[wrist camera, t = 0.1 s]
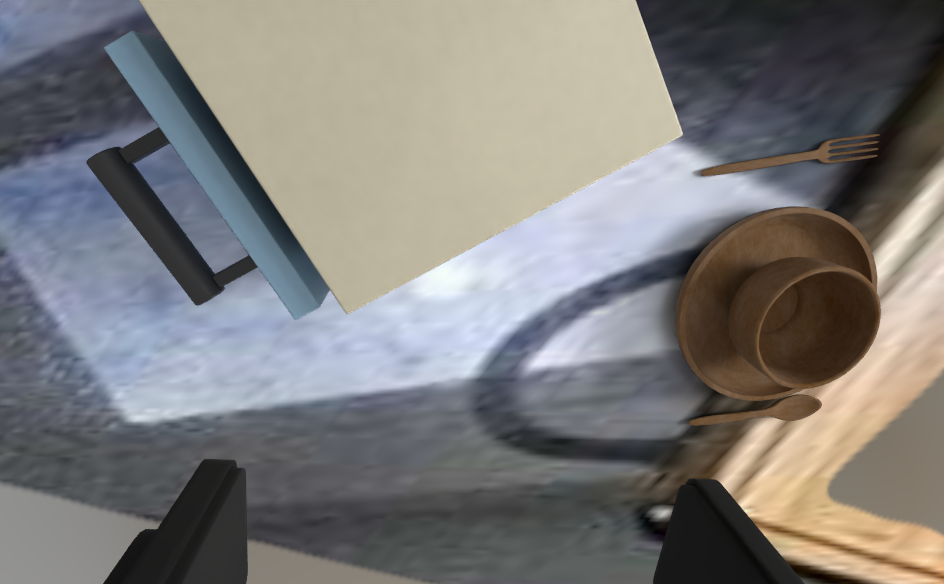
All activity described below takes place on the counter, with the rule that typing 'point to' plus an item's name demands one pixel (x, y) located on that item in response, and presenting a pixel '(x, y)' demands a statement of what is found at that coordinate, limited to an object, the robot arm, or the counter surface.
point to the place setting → (779, 301)
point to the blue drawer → (217, 174)
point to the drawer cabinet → (420, 116)
